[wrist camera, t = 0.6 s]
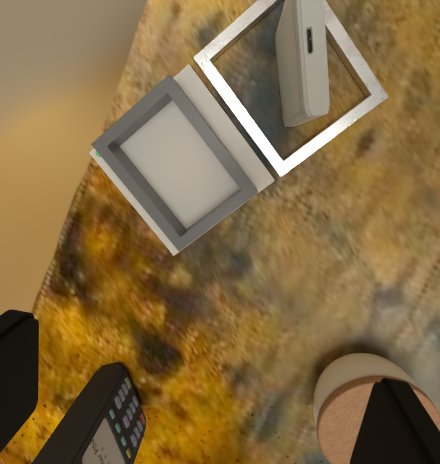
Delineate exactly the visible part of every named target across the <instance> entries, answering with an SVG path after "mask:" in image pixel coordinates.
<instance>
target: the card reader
mask: <svg viewBox="0 0 440 464" xmlns="http://www.w3.org/2000/svg"><path fill="white" fill-rule="evenodd" d="M145 423H146V418H145V415H144V413H143V410H142V408H141V405H140V403H139V400H138V398H137V395H136V393H135V390H134V388H133V385H132V383H131V380H130V378H129V375H128V373H127V370H126V369H125V368H123V367H122V365H121V364H120V363H116V364H111V365H107V366H103V367H101V368H100V369H99V370H97V371H96V372H95V374H94V375H93V376H92V378H91V379H90V381H89V382H88V383H87V385H86V386H85V387H84V389H83V390H82V392H81V393H80V394H79V396H78V397H77V398H76V400H75V401H74V403H73V404H72V406H71V407H70V409H69V410H68V411H67V413H66V414H65V416H64V417H63V419H62V420H61V422H60V423H59V425H58V426H57V427H56V429H55V430H54V432H53V433H52V435H51V436H50V438H49V439H48V441H47V442H46V443H45V445H44V446H43V448H42V449H41V451H40V452H39V454H38V455H37V457H36V458H35V459H34V461H33V462H32V464H134V461H135V458H136V455H137V452H138V449H139V446H140V444H141V441H142V438H143V435H144V432H145V428H146V424H145Z"/></svg>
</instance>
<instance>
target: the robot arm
mask: <svg viewBox="0 0 440 464" xmlns="http://www.w3.org/2000/svg"><path fill="white" fill-rule="evenodd" d="M38 352H39V323H38V320H36V319H34V316H33V314H32V313H29V312H23V311H18V310H8V311H6V312H5V313H3V314H2V315H0V452H1V451H2V450H3V449H4V447H5V446H6V445H7V444H8V443H9V441H10V440H11V439H12V438H13V436H14V435H15V434H16V433H17V432H18V430H19V429H20V428H21V427H22V425H23V424H24V423H25V422H26V421H27V419H28V418H29V417H30V416H31V414H32V413H33V412H34V410H35V408H36V405H37V402H38ZM350 464H440V431H439V429H438V428H437V426H436V425H435V423H434V421H433V420H432V418H431V417H430V415H429V414H428V412H427V411H426V409H425V408H424V406H423V404H422V403H421V401H420V400H419V398H418V397H417V395H416V394H415V392H414V391H413V389H412V388H411V386H410V385H409V383H408V382H405V381H400V380H395V379H390V378H382V380H381V381H380V382H375V383H374V385H373V387H372V390H371V394H370V397H369V400H368V403H367V407H366V410H365V413H364V416H363V420H362V423H361V426H360V429H359V433H358V436H357V439H356V442H355V446H354V449H353V452H352V455H351V459H350Z"/></svg>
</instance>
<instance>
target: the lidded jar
mask: <svg viewBox="0 0 440 464" xmlns="http://www.w3.org/2000/svg"><path fill="white" fill-rule="evenodd" d="M382 378H390V379H395V380H400V381H405V382H408V383H409V385H410V386H411V388H412V389H413V391H414V392H415V394H416V395H417V397H418V398H419V400H420V401H421V403H422V404H423V406H424V408H425V409H426V411H427V412H428V414H429V415H430V417H431V418H432V420H433V421H434V423H435V425H436V426H437V428H438V429H439V431H440V415H439V412H438V411H437V409H436V407H435V405H434V404H433V403H432V401H431V400H430V399H429V398H428V397H427V395H426V394H425V393H424V392H423V391H422V390H421V388H420V387H419V386H418V385H417V383H416V382H415V381H414V380H413V379H412V378H411V377H410V376H409V375H408V374H407V373H406V372H405V371H404V370H402V369H401V368H400V367H399V366H397V365H396V364H395V363H393V362H391V361H390V360H387V359H385V358H383V357H381V356H378V355H374V354H369V353H353V354H348V355H345V356H342V357H340V358H338V359H336V360H334V361H333V362H331V363H330V364H329V365H328V366H327V367H326V368H325V370H324V371H323V372H322V373H321V375H320V377H319V379H318V381H317V384H316V387H315V392H314V417H315V422H316V429H317V436H318V441H319V445H320V447H321V450H322V452H323V454H324V455H325V457H326V458H327V460H328V461H329V462H330V463H331V464H350V459H351V455H352V452H353V449H354V446H355V442H356V439H357V436H358V433H359V429H360V426H361V423H362V420H363V416H364V413H365V410H366V407H367V403H368V400H369V397H370V394H371V390H372V387H373V385H374V383H375V382H380V381H381V380H382Z"/></svg>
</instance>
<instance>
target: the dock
mask: <svg viewBox="0 0 440 464" xmlns="http://www.w3.org/2000/svg"><path fill="white" fill-rule="evenodd" d="M91 145H92V146H93V147H94V149H93V150H92V151H90V152H89V153H90V155H91V156H92V157H93V158H94V160H95V161H96V162H97V163H98V164H99V166H100V167H101V168H102V169H103V170H104V172H105V173H106V174H107V175H108V177H109V178H110V179H111V180H112V181H113V183H114V184H115V185H116V186H117V188H118V189H119V190H120V191H121V192H122V194H123V195H124V196H125V197H126V198H127V200H128V201H129V202H130V203H131V205H132V206H133V207H134V208H135V209H136V211H137V212H138V213H139V214H140V216H141V217H142V218H143V219H144V220H145V222H146V223H147V224H148V225H149V226H150V228H151V229H152V230H153V231H154V233H155V234H156V235H157V236H158V237H159V239H160V240H161V241H162V242H163V243H164V245H165V246H166V247H167V248H168V250H169V251H170V252H171V253H172V254H173V256H175V255H176V254H177V253H179V252H180V251H181V250H183V249H184V248H185V247H187V246H188V245H189V244H191V243H192V242H193V241H195V240H196V239H197V238H199V237H200V236H201V235H203V234H204V233H205V232H207V231H208V230H209V229H211V228H212V227H213V226H215V225H216V224H217V223H219V222H220V221H221V220H223V219H224V218H225V217H227V216H228V215H229V214H231V213H232V212H234V211H235V210H236V209H238V208H239V207H240V206H242V205H243V204H244V203H246V202H247V201H248V200H250V199H251V198H252V197H254V196H255V195H256V194H258V193H259V192H260V191H262V190H263V189H264V188H266V187H267V186H268V185H270V184H271V183H272V182H274V181H275V180H274V178H273V177H272V176H271V174H270V173H269V172H268V170H267V169H266V168H265V166H264V165H263V163H262V162H261V161H260V159H259V158H258V157H257V155H256V154H255V153H254V151H253V150H252V149H251V147H250V146H249V144H248V143H247V142H246V140H245V139H244V138H243V136H242V135H241V134H240V132H239V131H238V130H237V128H236V127H235V125H234V124H233V123H232V121H231V120H230V119H229V117H228V116H227V115H226V113H225V112H224V111H223V109H222V108H221V107H220V105H219V104H218V102H217V101H216V100H215V98H214V97H213V96H212V94H211V93H210V92H209V90H208V89H207V88H206V86H205V85H204V83H203V82H202V81H201V79H200V78H199V77H198V75H197V74H196V73H195V71H194V70H193V69H192V67H191V66H190V65H189V64H188V65H187V66H186V67H185V68H184V69H183V70H181V71H180V72H179V73H178V74H177V75H176V76H175V77H174V78H172V77H171V76H170V75H168V76H167V77H166V78H165V79H163V80H162V81H161V82H160V83H159V84H158V85H157V86H156V87H155V88H153V89H152V90H151V91H150V92H149V93H148V94H147V95H146V96H144V97H143V98H142V99H141V100H140V101H139V102H138V103H137V104H136V105H134V106H133V107H132V108H131V109H130V110H129V111H128V112H127V113H125V114H124V115H123V116H122V117H121V118H120V119H119V120H118V121H117V122H115V123H114V124H113V125H112V126H111V127H110V128H109V129H108V130H107V131H105V132H104V133H103V134H102V135H101V136H100V137H99V138H98V139H96V140H95V141H94V142H93V143H92V144H91Z"/></svg>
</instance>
